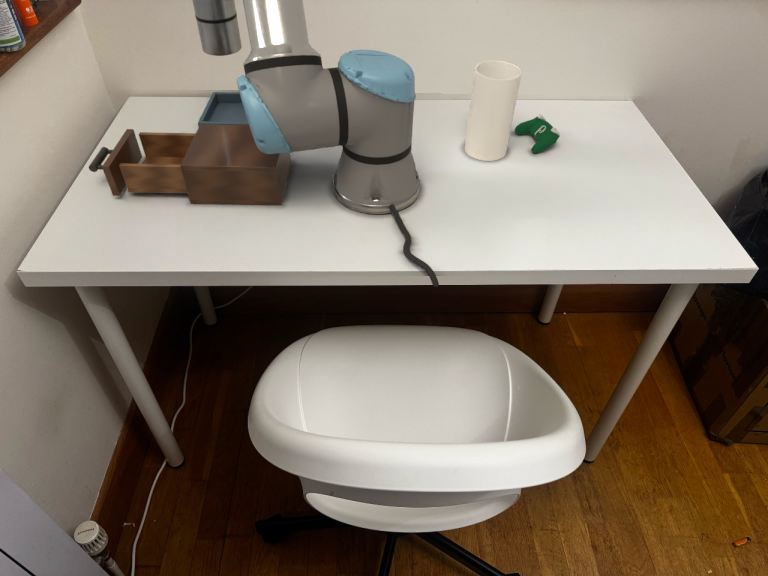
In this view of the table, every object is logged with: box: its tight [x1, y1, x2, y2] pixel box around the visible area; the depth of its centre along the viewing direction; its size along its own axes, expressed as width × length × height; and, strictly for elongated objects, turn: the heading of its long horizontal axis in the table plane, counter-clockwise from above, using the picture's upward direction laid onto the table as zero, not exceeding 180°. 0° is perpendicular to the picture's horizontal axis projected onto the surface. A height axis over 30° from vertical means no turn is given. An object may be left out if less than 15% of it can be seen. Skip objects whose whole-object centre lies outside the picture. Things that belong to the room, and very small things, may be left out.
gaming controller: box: [514, 113, 560, 154], centre depth 112 cm, size 9×4×6 cm
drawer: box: [88, 128, 196, 197], centre depth 99 cm, size 19×12×6 cm, turn 90°
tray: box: [197, 91, 249, 128], centre depth 117 cm, size 14×14×2 cm
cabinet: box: [180, 124, 292, 206], centre depth 99 cm, size 16×14×8 cm
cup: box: [464, 60, 522, 162], centre depth 105 cm, size 8×8×16 cm
